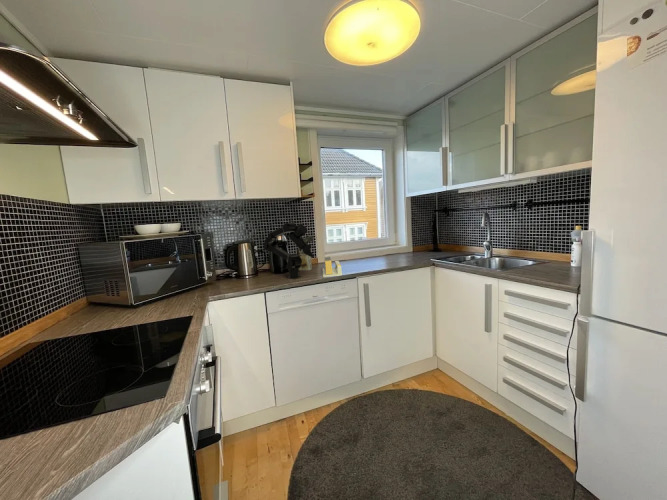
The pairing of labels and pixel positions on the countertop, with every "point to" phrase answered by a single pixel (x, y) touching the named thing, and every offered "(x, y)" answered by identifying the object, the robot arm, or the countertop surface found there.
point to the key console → (334, 270)
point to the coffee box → (304, 261)
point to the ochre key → (328, 267)
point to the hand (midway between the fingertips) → (313, 257)
